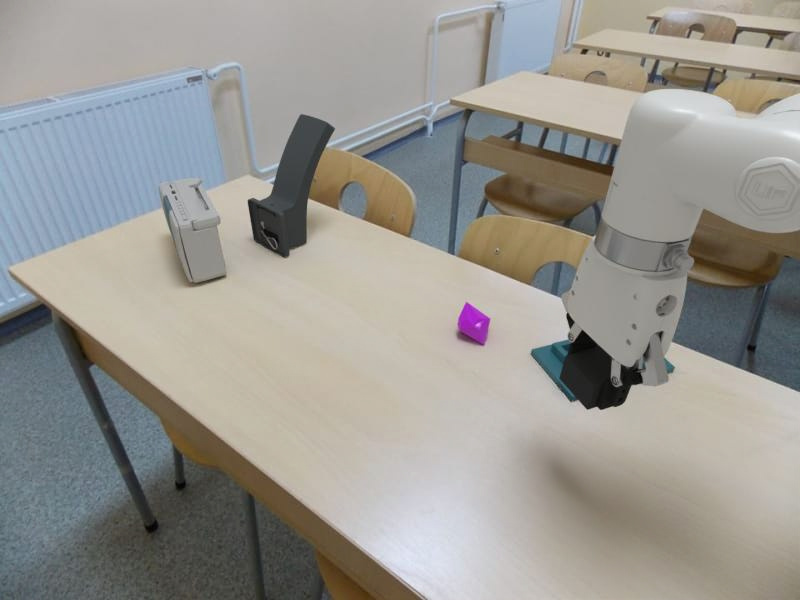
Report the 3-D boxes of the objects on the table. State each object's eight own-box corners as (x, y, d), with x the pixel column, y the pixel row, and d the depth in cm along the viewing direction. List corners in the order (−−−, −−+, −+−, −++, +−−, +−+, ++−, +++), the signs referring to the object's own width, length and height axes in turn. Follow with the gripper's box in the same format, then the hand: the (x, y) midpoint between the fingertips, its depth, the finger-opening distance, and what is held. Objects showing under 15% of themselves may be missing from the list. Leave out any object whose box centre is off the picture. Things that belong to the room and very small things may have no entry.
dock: (673, 371, 81) (678, 360, 79) (570, 401, 75) (574, 389, 74) (625, 329, 89) (629, 318, 88) (530, 353, 84) (533, 341, 82)
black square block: (625, 398, 56) (634, 374, 53) (587, 410, 54) (595, 386, 52) (595, 368, 59) (602, 344, 57) (558, 378, 58) (565, 355, 56)
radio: (170, 239, 111) (146, 148, 100) (210, 231, 115) (190, 142, 103) (189, 289, 97) (162, 188, 85) (233, 278, 100) (213, 180, 88)
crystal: (453, 338, 86) (456, 316, 84) (464, 320, 90) (466, 299, 88) (483, 347, 85) (486, 325, 82) (493, 328, 89) (496, 307, 86)
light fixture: (345, 229, 116) (340, 120, 102) (284, 259, 106) (269, 141, 92) (313, 215, 122) (304, 109, 108) (252, 241, 111) (233, 128, 97)
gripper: (755, 283, 41) (677, 435, 51) (610, 196, 53) (572, 332, 64) (681, 302, 38) (616, 457, 49) (549, 206, 51) (520, 345, 62)
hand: (592, 385), depth 56 cm, fingers closed on black square block, 5 cm apart
